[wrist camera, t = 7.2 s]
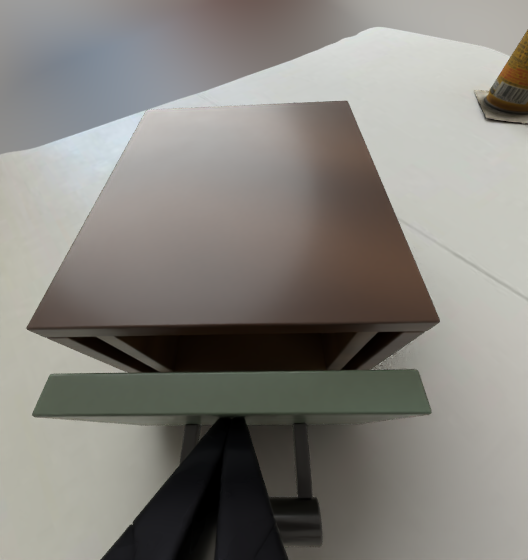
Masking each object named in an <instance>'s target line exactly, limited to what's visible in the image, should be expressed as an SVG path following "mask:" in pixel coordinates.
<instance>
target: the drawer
mask: <svg viewBox="0 0 528 560" xmlns="http://www.w3.org/2000/svg"><path fill="white" fill-rule="evenodd" d="M377 333H378V332H338V333H278V334H218V335H157V336H97V338H99V339H101V340H103V341H105V342H106V343H108V344H110V345H112V346H114V347H115V348H117V349H119V350H121V351H123V352H125V353H126V354H128V355H130V356H132V357H134V358H135V359H137V360H139V361H141V362H143V363H145V364H146V365H148V366H150V367H152V368H154V369H155V370H157V371H159V372H158V373H74V374H51V375H50V376H49V378H48V380H47V382H46V384H45V387H44V389H43V391H42V393H41V395H40V398H39V400H38V402H37V404H36V407H35V409H34V411H33V413H32V416H34V417H39V418H52V419H66V420H79V421H92V422H105V423H118V424H132V425H145V426H148V425H185V431H184V438H183V445H182V452H181V458H180V464H181V463H182V462H183V461H184V459H185V458H186V457H187V456H188V454H189V453H190V452H191V451H192V450H193V448H194V447H195V446H196V445H197V444H198V442H199V436H200V427H201V425H213V424H214V423H215V422H216V421H217V420H218V419H219V418H231V419H232V418H245V420H246V424H247V425H293V437H294V454H295V471H296V489H297V496H298V497H269V500H270V503H271V506H272V510H273V513H274V516H275V519H276V523H277V526H278V529H279V532H280V536H281V539H282V542H283V545H284V547H321V546H322V542H323V536H322V523H321V515H320V508H319V503H318V500H317V498H316V497H313V494H312V482H311V470H310V458H309V446H308V435H307V425H336V424H363V423H370V422H378V421H385V420H393V419H400V418H408V417H415V416H422V415H429V414H431V408H430V405H429V402H428V399H427V396H426V393H425V390H424V387H423V384H422V381H421V378H420V375H419V372H418V370H415V369H409V370H341V369H342V368H343V367H344V366H345V365H346V364H347V363H348V362H349V361H350V360H351V359H352V358H353V357H354V356H355V355H356V354H357V353H358V352H359V351H360V350H361V349H362V348H363V347H364V346H365V345H366V344H367V343H368V342H369V341H370V340H371V339H372V338H373V337H374V336H375V335H376V334H377Z"/></svg>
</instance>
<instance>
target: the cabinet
mask: <svg viewBox="0 0 528 560" xmlns="http://www.w3.org/2000/svg"><path fill="white" fill-rule="evenodd" d="M439 322H440V319H439V317H438V314H437V312H436V310H435V307H434V305H433V303H432V300H431V298H430V296H429V293H428V291H427V288H426V286H425V284H424V281H423V279H422V277H421V274H420V272H419V269H418V267H417V265H416V262H415V260H414V258H413V255H412V253H411V250H410V248H409V246H408V243H407V241H406V239H405V236H404V234H403V231H402V229H401V227H400V224H399V222H398V220H397V217H396V215H395V212H394V210H393V208H392V205H391V203H390V201H389V198H388V196H387V194H386V191H385V189H384V186H383V184H382V182H381V179H380V177H379V175H378V172H377V170H376V167H375V165H374V163H373V160H372V158H371V156H370V153H369V151H368V148H367V146H366V144H365V141H364V139H363V137H362V134H361V132H360V129H359V127H358V125H357V122H356V120H355V118H354V115H353V113H352V110H351V108H350V106H349V103H348V101H329V102H307V103H284V104H262V105H240V106H217V107H195V108H173V109H151V110H146V112H145V113H144V115H143V117H142V119H141V121H140V123H139V124H138V126H137V128H136V130H135V132H134V133H133V135H132V137H131V139H130V141H129V143H128V144H127V146H126V148H125V150H124V152H123V153H122V155H121V157H120V159H119V161H118V163H117V164H116V166H115V168H114V170H113V172H112V173H111V175H110V177H109V179H108V181H107V183H106V184H105V186H104V188H103V190H102V192H101V193H100V195H99V197H98V199H97V201H96V202H95V204H94V206H93V208H92V210H91V212H90V213H89V215H88V217H87V219H86V221H85V222H84V224H83V226H82V228H81V230H80V232H79V233H78V235H77V237H76V239H75V241H74V242H73V244H72V246H71V248H70V250H69V252H68V253H67V255H66V257H65V259H64V261H63V262H62V264H61V266H60V268H59V270H58V272H57V273H56V275H55V277H54V279H53V281H52V282H51V284H50V286H49V288H48V290H47V291H46V293H45V295H44V297H43V299H42V301H41V302H40V304H39V306H38V308H37V310H36V311H35V313H34V315H33V317H32V319H31V321H30V322H29V324H28V326H27V330H29V331H31V332H34V333H36V334H39V335H41V336H43V337H47V338H48V339H50V340H52V341H55V342H57V343H60V344H62V345H64V346H67V347H69V348H71V349H74V350H76V351H78V352H81V353H83V354H85V355H88V356H90V357H92V358H95V359H97V360H99V361H102V362H104V363H106V364H109V365H111V366H113V367H116V368H118V369H120V370H123V371H125V372H128V373H158V372H159V371H157V370H155V369H154V368H152V367H150V366H148V365H146V364H145V363H143V362H141V361H139V360H137V359H135V358H134V357H132V356H130V355H128V354H126V353H125V352H123V351H121V350H119V349H117V348H115V347H114V346H112V345H110V344H108V343H106V342H105V341H103V340H101V339H99V338H97V336H157V335H218V334H278V333H338V332H378V333H377V334H376V335H375V336H374V337H373V338H372V339H371V340H370V341H369V342H368V343H367V344H366V345H365V346H364V347H363V348H362V349H361V350H360V351H359V352H358V353H357V354H356V355H355V356H354V357H353V358H352V359H351V360H350V361H349V362H348V363H347V364H346V365H345V366H344V367H343V368H342V369H341V370H371V369H372V368H373V367H375V366H376V365H378V364H379V363H381V362H382V361H384V360H385V359H386V358H388V357H389V356H391V355H392V354H394V353H395V352H397V351H398V350H400V349H401V348H402V347H404V346H405V345H407V344H408V343H410V342H411V341H413V340H414V339H416V338H417V337H418V336H420V335H421V334H423V333H424V332H425V331H428V330H429V329H431V328H432V327H433V326H435V325H436V324H438V323H439Z"/></svg>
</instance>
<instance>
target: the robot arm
mask: <svg viewBox="0 0 528 560" xmlns="http://www.w3.org/2000/svg"><path fill="white" fill-rule="evenodd" d="M101 560H288V557H287V554H286V551H285V548H284V545H283V542H282V539H281V536H280V532H279V529H278V526H277V523H276V519H275V516H274V513H273V510H272V506H271V503H270V500H269V496H268V493H267V490H266V486H265V483H264V480H263V477H262V473H261V470H260V467H259V463H258V460H257V457H256V453H255V450H254V447H253V443H252V440H251V437H250V434H249V430H248V427H247V424H246V420H245V418H232V419H231V418H219V419H218V420H217V421H216V422H215V423H214V424H213V426H212V427H211V428H210V429H209V430H208V432H207V433H206V434H205V435H204V436H203V438H202V439H201V440H200V441H199V442H198V444H197V445H196V446H195V447H194V448H193V450H192V451H191V452H190V453H189V454H188V456H187V457H186V458H185V459H184V461H183V462H182V463H181V464H180V465H179V467H178V468H177V469H176V470H175V471H174V473H173V474H172V475H171V476H170V477H169V479H168V480H167V481H166V482H165V483H164V485H163V486H162V487H161V488H160V489H159V491H158V492H157V493H156V494H155V496H154V497H153V498H152V499H151V500H150V502H149V503H148V504H147V505H146V506H145V508H144V509H143V510H142V511H141V512H140V514H139V515H138V516H137V517H136V518H135V520H134V521H133V525H129V527H128V528H127V529H126V530H125V532H124V533H123V534H122V535H121V536H120V538H119V539H118V540H117V541H116V542H115V543H114V545H113V546H112V547H111V548H110V549H109V550H108V552H107V553H106V554H105V555H104V556H103V557H102V559H101Z"/></svg>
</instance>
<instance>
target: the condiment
mask: <svg viewBox="0 0 528 560" xmlns="http://www.w3.org/2000/svg"><path fill="white" fill-rule="evenodd" d="M475 93H476V96H477V99H478V102H479V103H480V105H481V108H482V111H483V112H484V113H485V116H486V118H492V119H494V120H502V121H509V122H521V123H522V124H525V123H528V30H527V32H526V33H525V35H524V36H523V38H522V40H521V41H520V43H519V45H518V46H517V48H516V49H515V51H514V52H513V54H512V56H511V57H510V59H509V60H508V62H507V63H506V65H505V67H504V68H503V70H502V71H501V73H500V75H499V76H498V78H497V79H496V81H495V83H494V84H493V86H492V87H491V89H490V91H482V90H475Z"/></svg>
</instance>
